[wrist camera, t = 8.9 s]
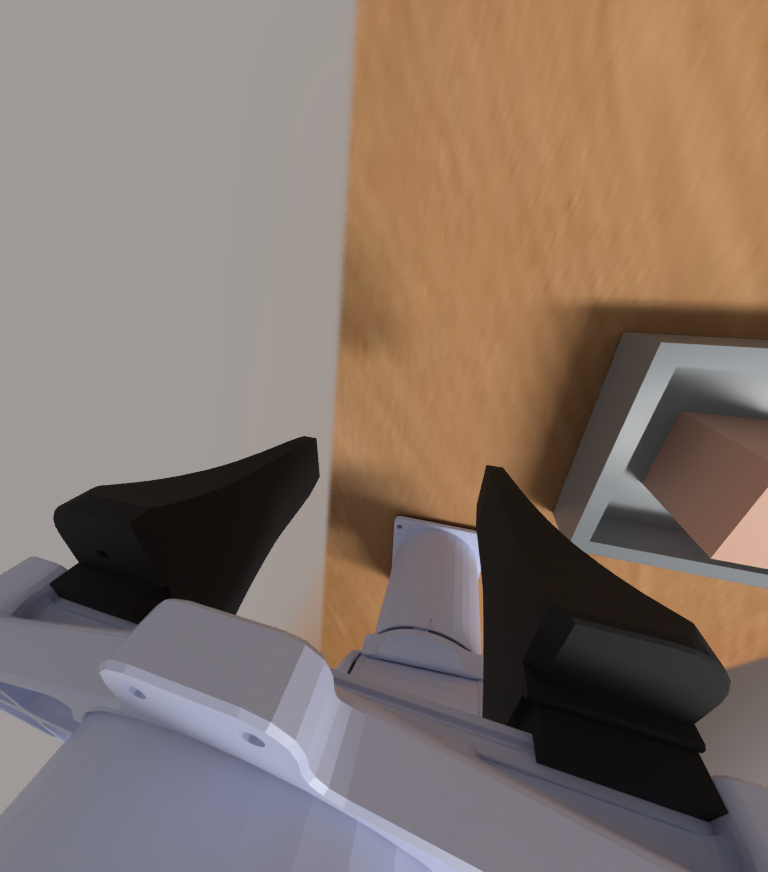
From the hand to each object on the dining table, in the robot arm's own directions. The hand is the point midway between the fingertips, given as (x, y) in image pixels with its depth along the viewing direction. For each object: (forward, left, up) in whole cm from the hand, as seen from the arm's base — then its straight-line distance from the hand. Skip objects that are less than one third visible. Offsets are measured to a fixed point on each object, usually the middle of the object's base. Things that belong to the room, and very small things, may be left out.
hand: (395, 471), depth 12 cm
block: (-1, -17, -9) cm, 19 cm away
